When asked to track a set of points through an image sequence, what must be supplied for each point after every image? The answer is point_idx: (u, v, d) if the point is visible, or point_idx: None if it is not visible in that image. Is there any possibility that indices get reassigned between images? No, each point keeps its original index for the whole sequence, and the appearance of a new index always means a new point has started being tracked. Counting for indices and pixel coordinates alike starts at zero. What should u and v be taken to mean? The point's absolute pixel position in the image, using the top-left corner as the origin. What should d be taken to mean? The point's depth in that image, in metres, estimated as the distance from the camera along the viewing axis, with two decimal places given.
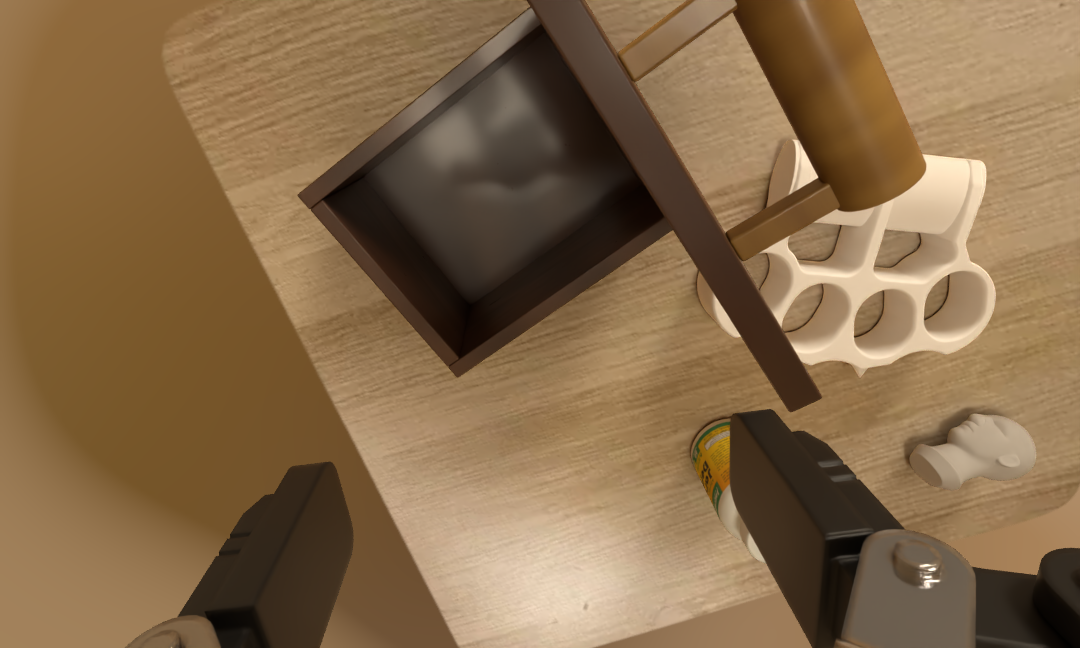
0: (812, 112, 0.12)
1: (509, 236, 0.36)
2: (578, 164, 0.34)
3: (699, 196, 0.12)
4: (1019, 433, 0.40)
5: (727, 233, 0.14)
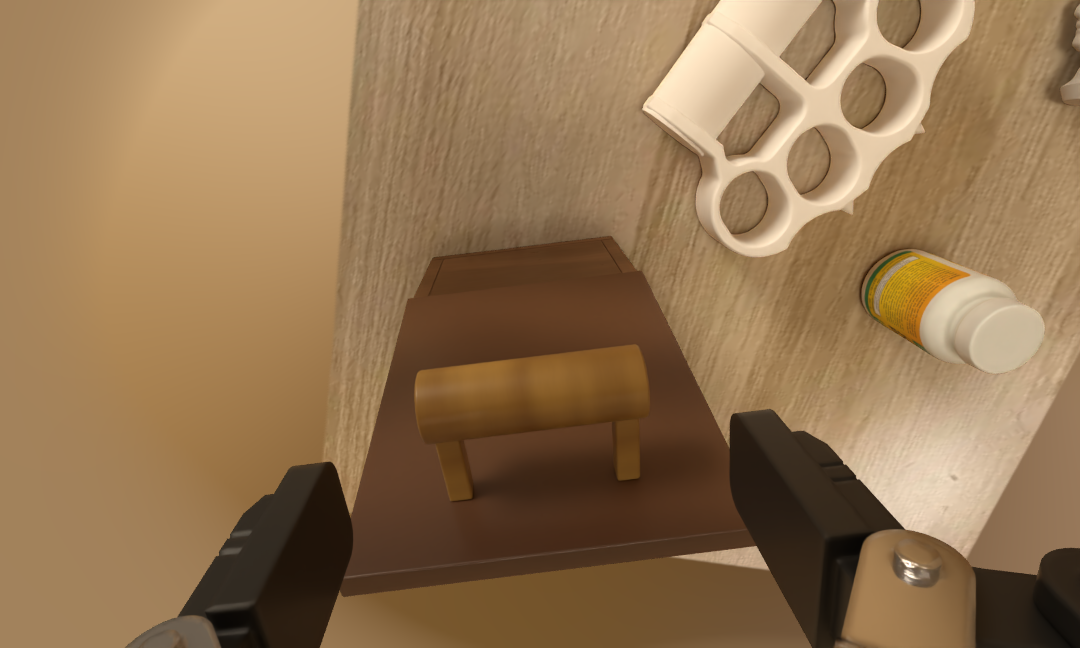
0: (552, 428, 0.16)
1: None
2: None
3: (556, 552, 0.15)
4: None
5: (614, 468, 0.18)
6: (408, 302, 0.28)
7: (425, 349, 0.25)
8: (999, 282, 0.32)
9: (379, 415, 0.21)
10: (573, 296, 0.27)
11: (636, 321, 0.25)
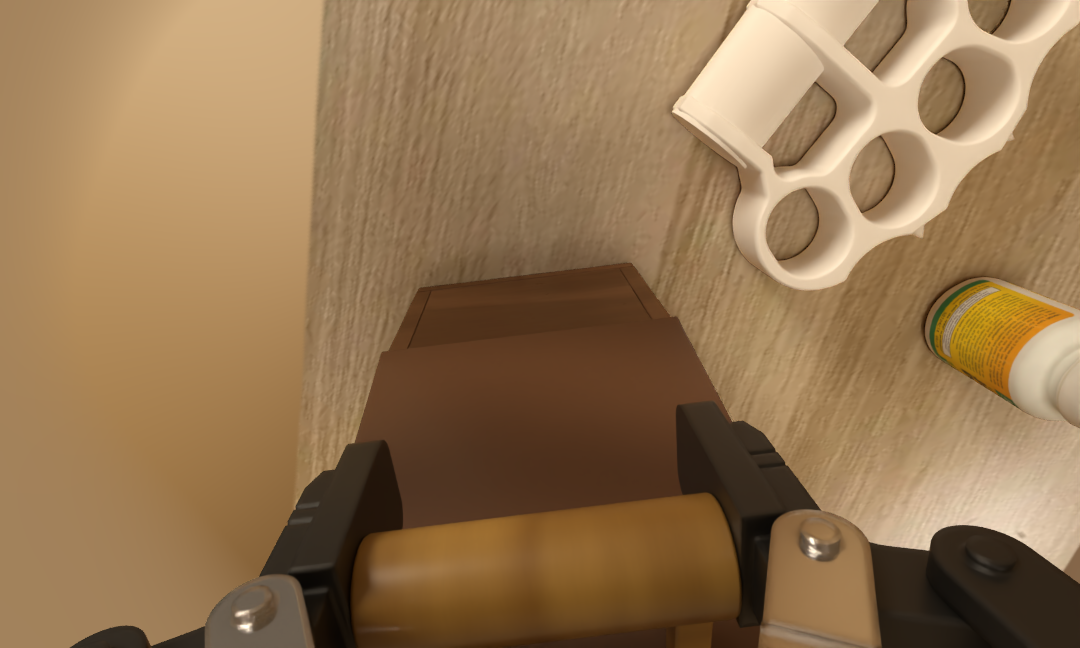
0: None
1: None
2: None
3: None
4: None
5: None
6: (381, 357, 0.22)
7: (398, 430, 0.19)
8: None
9: None
10: (591, 352, 0.21)
11: (676, 393, 0.19)
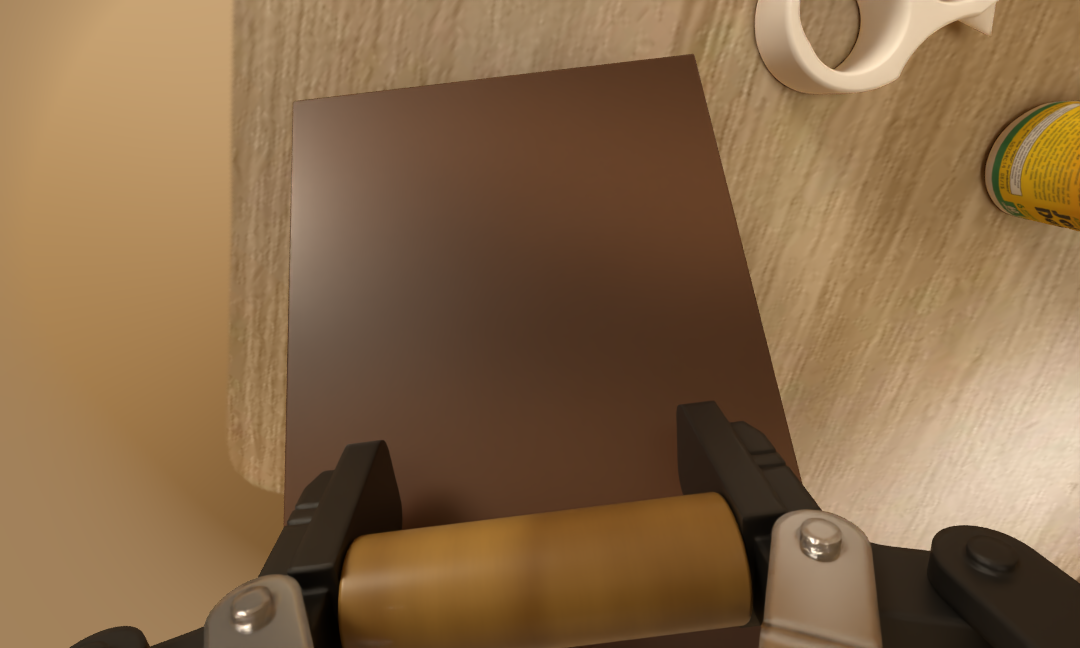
0: None
1: None
2: None
3: None
4: None
5: None
6: (295, 113, 0.17)
7: (341, 246, 0.15)
8: None
9: (289, 405, 0.14)
10: (578, 120, 0.16)
11: (682, 199, 0.15)
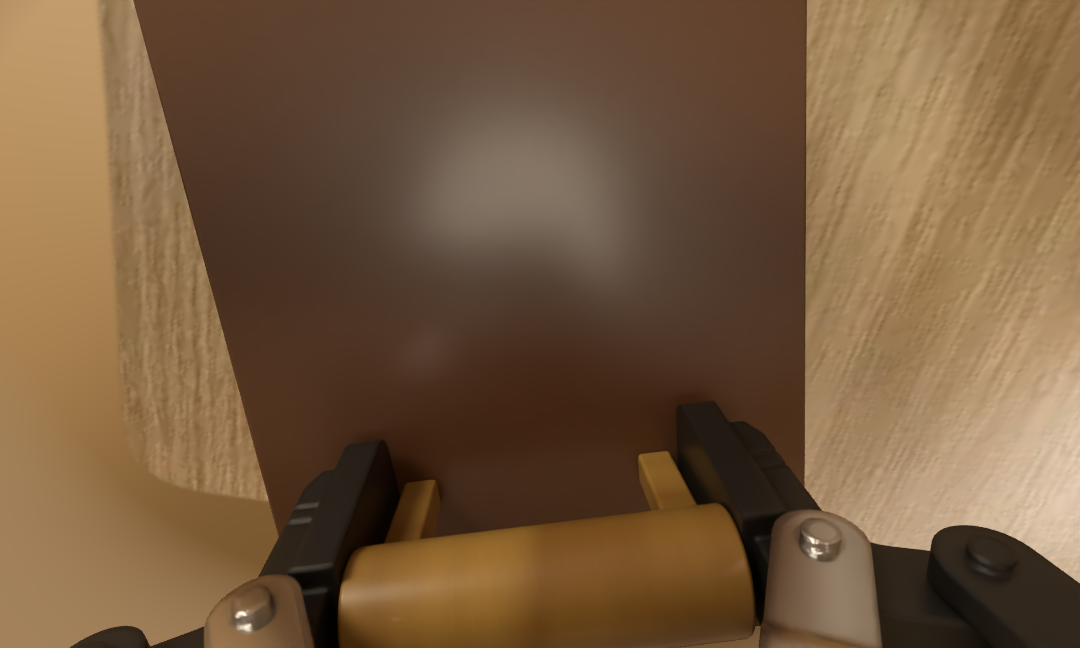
0: None
1: None
2: None
3: None
4: None
5: (638, 462, 0.12)
6: None
7: (238, 102, 0.10)
8: None
9: (225, 327, 0.11)
10: None
11: (738, 30, 0.10)
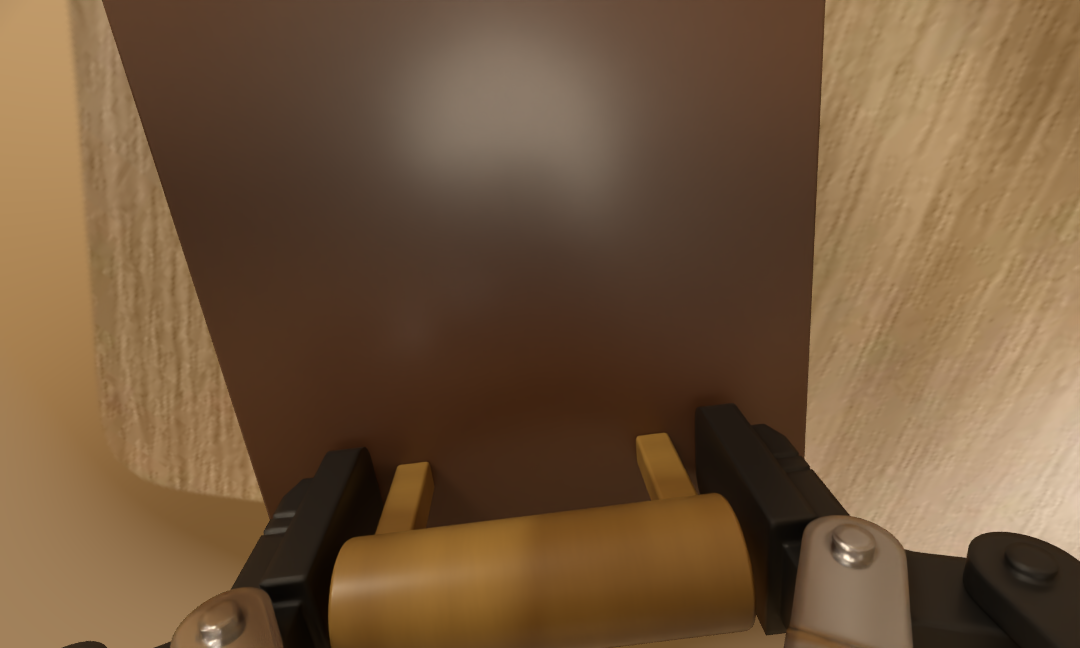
0: None
1: None
2: None
3: None
4: None
5: (636, 444, 0.12)
6: None
7: (207, 65, 0.10)
8: None
9: (205, 308, 0.11)
10: None
11: None
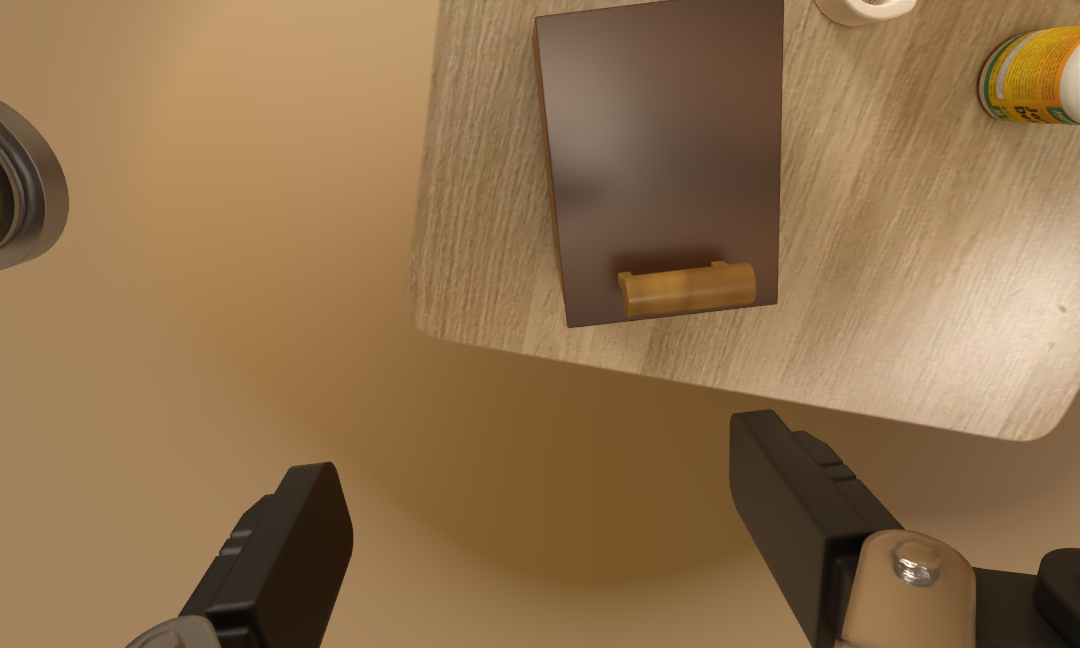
0: None
1: None
2: None
3: (674, 315, 0.32)
4: None
5: (711, 265, 0.31)
6: (538, 27, 0.27)
7: (573, 122, 0.29)
8: None
9: (556, 207, 0.30)
10: (707, 38, 0.28)
11: (756, 96, 0.28)
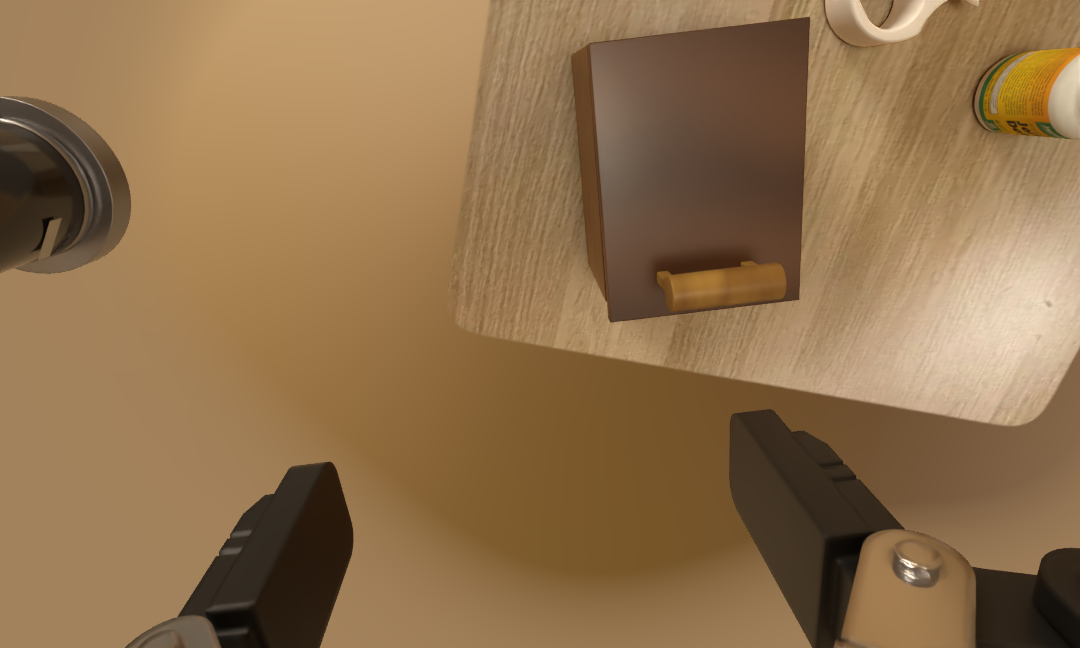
0: None
1: None
2: None
3: (706, 310, 0.35)
4: None
5: (740, 265, 0.35)
6: (591, 52, 0.30)
7: (621, 137, 0.32)
8: None
9: (603, 213, 0.33)
10: (741, 63, 0.31)
11: (784, 113, 0.32)
